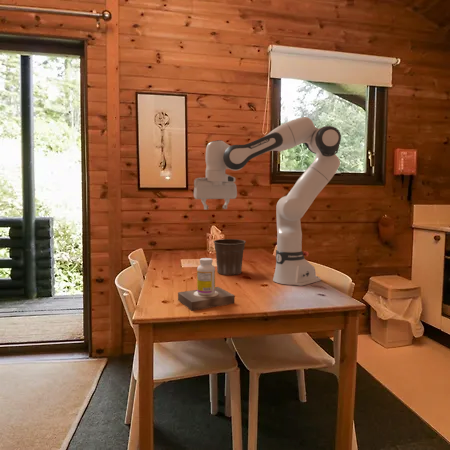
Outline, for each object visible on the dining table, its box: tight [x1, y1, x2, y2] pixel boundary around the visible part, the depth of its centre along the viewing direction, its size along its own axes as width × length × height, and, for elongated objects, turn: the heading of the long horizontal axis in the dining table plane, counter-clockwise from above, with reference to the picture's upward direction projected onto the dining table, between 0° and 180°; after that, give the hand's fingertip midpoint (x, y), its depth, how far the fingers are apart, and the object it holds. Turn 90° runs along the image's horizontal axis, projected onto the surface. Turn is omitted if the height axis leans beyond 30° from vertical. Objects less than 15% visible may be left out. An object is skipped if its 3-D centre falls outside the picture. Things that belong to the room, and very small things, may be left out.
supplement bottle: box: [196, 257, 216, 295], centre depth 127 cm, size 7×7×13 cm
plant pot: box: [213, 238, 246, 276], centre depth 174 cm, size 16×16×16 cm
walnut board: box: [177, 286, 236, 311], centre depth 128 cm, size 17×13×3 cm
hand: (215, 209), depth 154 cm, fingers open, 8 cm apart
